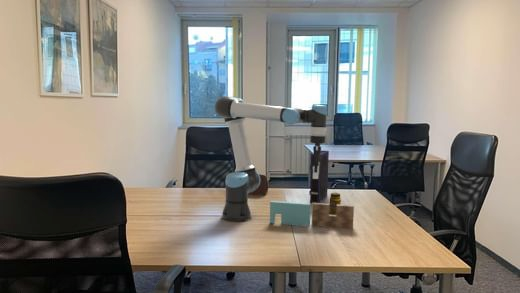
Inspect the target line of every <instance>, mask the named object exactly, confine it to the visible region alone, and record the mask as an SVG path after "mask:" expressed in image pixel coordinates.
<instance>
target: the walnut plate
mask: <svg viewBox="0 0 520 293" xmlns="http://www.w3.org/2000/svg"><path fill="white" fill-rule="evenodd" d="M311 209H312V210H311V212H312V213H311V226H315V227H328V228H340V229H341V228H342V229H354V213H355V211H354V210H355V206H354V205H353V204H352V205H351V204H341V205H340V204H337V210H336V215H329V203H323V202H319V203H317V202H312V208H311Z"/></svg>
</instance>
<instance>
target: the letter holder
mask: <svg viewBox="0 0 520 293" xmlns="http://www.w3.org/2000/svg"><path fill="white" fill-rule="evenodd" d="M258 174H259V173H258ZM259 176H260V185H259V187H258V188H257V189H256V190H255V191H253V192H250V193H248V195H254V194H255V195H257V196H266V195H267V194H268V192H269V181H268V178H267V176H266V175H265V174H259ZM255 195H254V196H255Z"/></svg>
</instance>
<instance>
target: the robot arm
mask: <svg viewBox="0 0 520 293" xmlns="http://www.w3.org/2000/svg"><path fill="white" fill-rule="evenodd" d="M214 112H215V114H216V115H217V116H218V117H219V118H221V119H223V120H224V124H226V125H227V127H228V129H229V130H228V132H229V135H230V141H231V145H232V150H233V156H234V161H235V165H236V168H235V170H234V172H230V173H228V174H226V177H225V181H224V182H225V204H224V207H223V210H222V213H221V215H222V216H221V218H222V219H223V220H225V221H229V222H245V221H248V220H250V219H251V216H252V215H251V209H250V206H249V203H248V198H249V196H248V195H249V194H248V193H250V192H253V191H255V190H256V189H257V188H258V187H259V185H260V176H259V172H257V171H256V166H254V165H253V163H252V158H251V155H250V149H249V143H248V138H247V134H246V128H245V124H244V122H245V121H246V119H252V120H262V121H269V122H276V123H277V122H278V123H284V124H288V125H295V124H310V140H309V142H310V143H311V144H314V145H313V149H312V150H313V153H312V154H314V163H313V164H312V166H313V179H318V174H319V162H321V160H319V159H320V153H321V150H322V146H321V144H323V145H324V144H325V143H326V132H327V131H328V130H327V126H326V125H327V117H328V116H327V106H326V105H321V104H313V105H311V108H304V107H303V108H302V107H284V106H277V105H276V106H275V105H268V104H260V103H258V104H257V103H250V102H249V103H248V102H245V101H244V100H243V99H242V98H241V97H237V96H221V97H219V98H218V99H217V100H216V101H215V103H214Z"/></svg>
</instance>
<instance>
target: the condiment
mask: <svg viewBox="0 0 520 293" xmlns="http://www.w3.org/2000/svg"><path fill="white" fill-rule="evenodd" d="M341 202H342V199H341V193H339V192H338V193H337V192H331V193H330V197H329V203H328V204H329V215H336V210H337V204H340V205H342V203H341Z"/></svg>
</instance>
